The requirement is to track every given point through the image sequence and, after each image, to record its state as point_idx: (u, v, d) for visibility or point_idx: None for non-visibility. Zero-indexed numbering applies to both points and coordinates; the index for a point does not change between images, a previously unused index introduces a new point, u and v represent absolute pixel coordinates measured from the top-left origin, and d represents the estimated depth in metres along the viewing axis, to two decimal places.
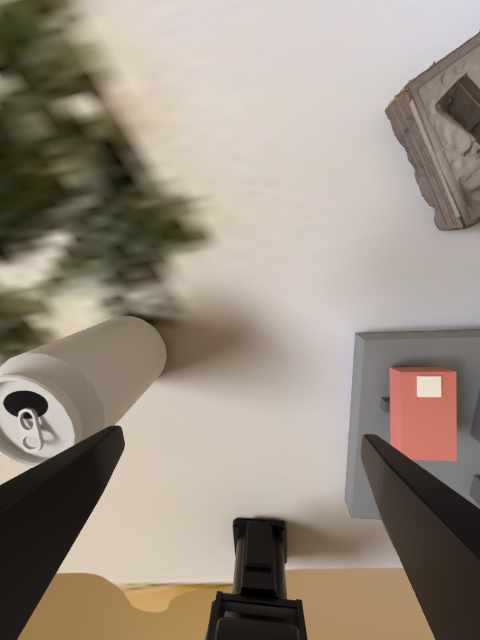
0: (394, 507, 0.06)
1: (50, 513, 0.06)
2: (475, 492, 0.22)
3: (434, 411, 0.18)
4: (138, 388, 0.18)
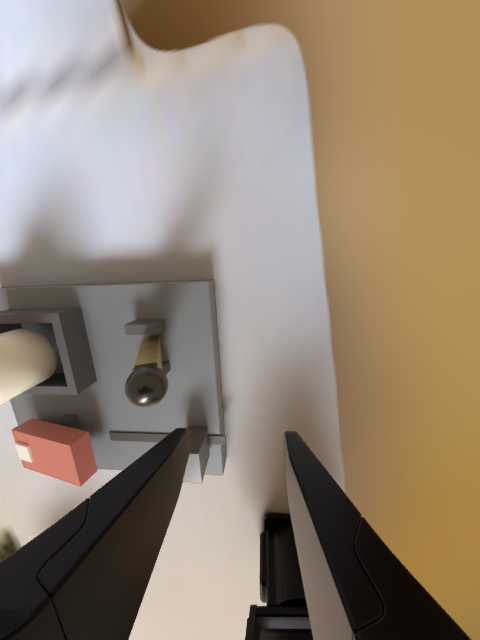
0: (293, 501, 0.06)
1: (145, 520, 0.06)
2: None
3: (40, 452, 0.20)
4: None
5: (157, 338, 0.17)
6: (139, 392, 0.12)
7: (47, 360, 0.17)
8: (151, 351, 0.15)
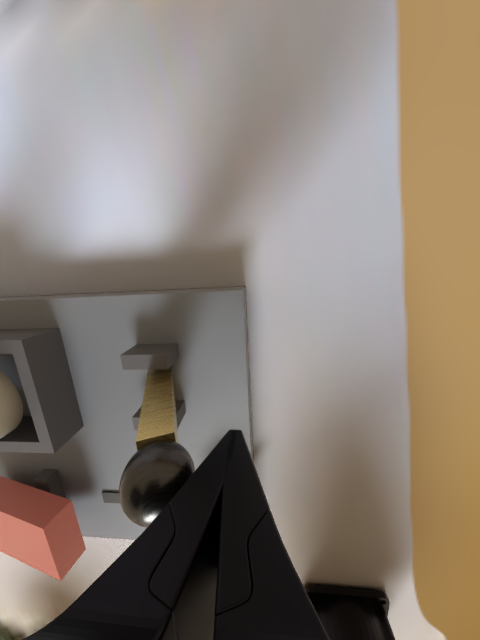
0: None
1: None
2: None
3: (4, 529, 0.14)
4: None
5: (168, 373, 0.12)
6: (146, 510, 0.06)
7: (5, 410, 0.11)
8: (162, 403, 0.09)
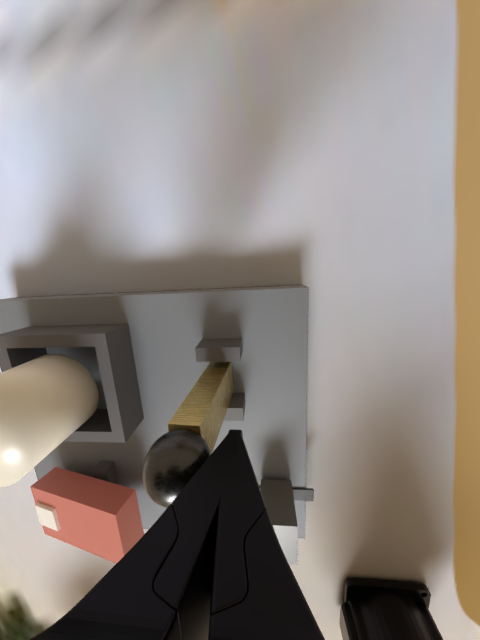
0: None
1: None
2: None
3: (70, 518, 0.15)
4: None
5: (225, 368, 0.12)
6: (153, 488, 0.07)
7: (87, 399, 0.12)
8: (205, 395, 0.10)
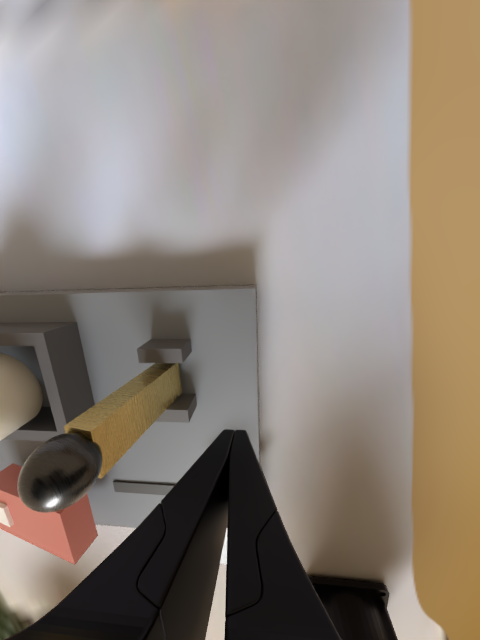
0: None
1: (213, 526, 0.06)
2: None
3: (20, 515, 0.15)
4: None
5: (165, 370, 0.12)
6: (18, 491, 0.07)
7: (27, 399, 0.12)
8: (122, 398, 0.10)
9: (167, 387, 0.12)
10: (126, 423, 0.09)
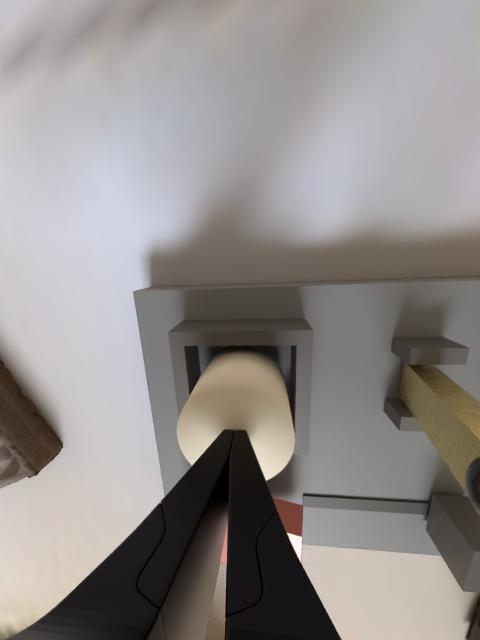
0: None
1: (213, 526, 0.06)
2: None
3: None
4: None
5: (441, 372, 0.11)
6: None
7: None
8: (473, 407, 0.08)
9: None
10: None
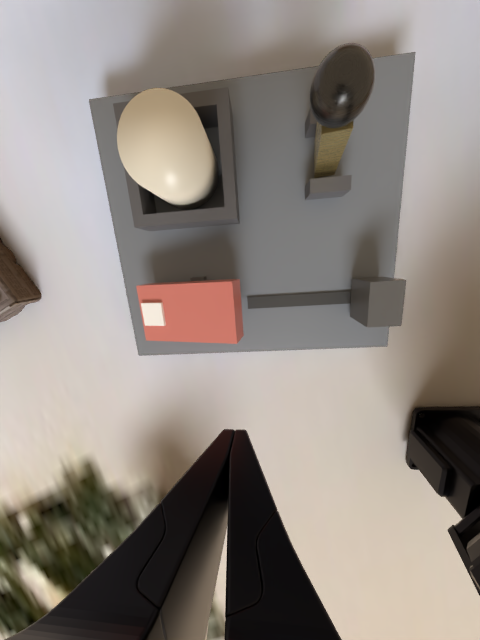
0: None
1: (213, 525, 0.06)
2: (330, 196, 0.15)
3: (178, 307, 0.15)
4: None
5: None
6: (337, 60, 0.08)
7: (216, 165, 0.14)
8: None
9: None
10: None
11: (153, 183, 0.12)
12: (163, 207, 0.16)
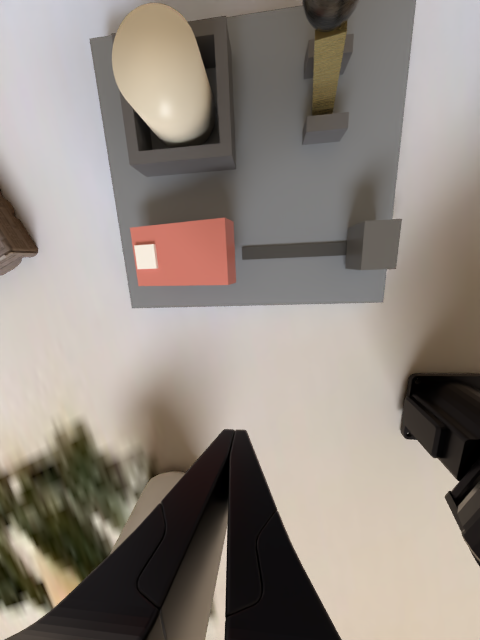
0: None
1: (213, 526, 0.06)
2: (327, 139, 0.15)
3: (171, 248, 0.15)
4: None
5: None
6: None
7: (213, 102, 0.14)
8: None
9: None
10: None
11: (146, 105, 0.12)
12: None
